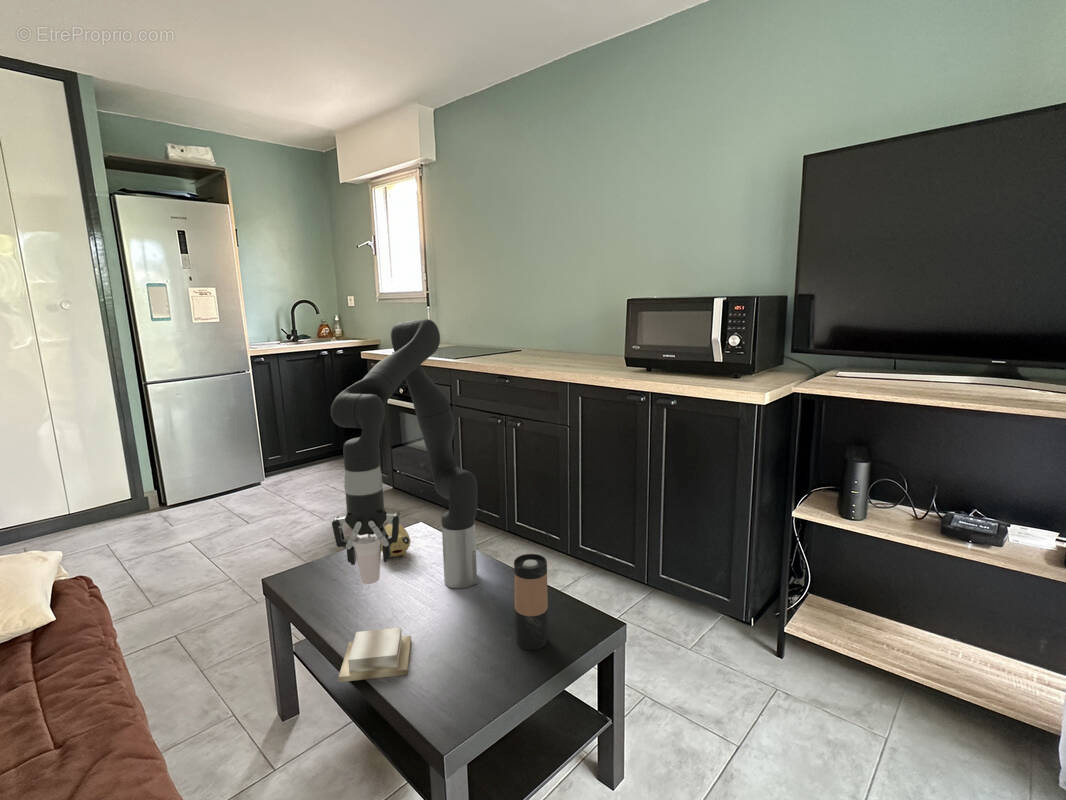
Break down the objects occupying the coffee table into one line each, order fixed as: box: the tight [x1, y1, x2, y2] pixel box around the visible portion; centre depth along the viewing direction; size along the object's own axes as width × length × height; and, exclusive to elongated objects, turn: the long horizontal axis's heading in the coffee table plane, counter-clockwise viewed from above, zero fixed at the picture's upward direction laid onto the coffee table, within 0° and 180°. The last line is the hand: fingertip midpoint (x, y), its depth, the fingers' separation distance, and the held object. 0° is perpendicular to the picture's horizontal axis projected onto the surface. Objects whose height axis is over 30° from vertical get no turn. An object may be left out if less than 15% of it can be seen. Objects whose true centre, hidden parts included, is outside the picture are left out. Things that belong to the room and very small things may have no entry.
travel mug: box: [513, 553, 549, 651], centre depth 123 cm, size 8×8×20 cm
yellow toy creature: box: [381, 522, 411, 558], centre depth 167 cm, size 10×12×11 cm
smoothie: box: [352, 534, 382, 585], centre depth 114 cm, size 6×6×14 cm
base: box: [338, 627, 412, 683], centre depth 119 cm, size 14×12×4 cm
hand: (369, 561), depth 115 cm, fingers closed on smoothie, 6 cm apart
